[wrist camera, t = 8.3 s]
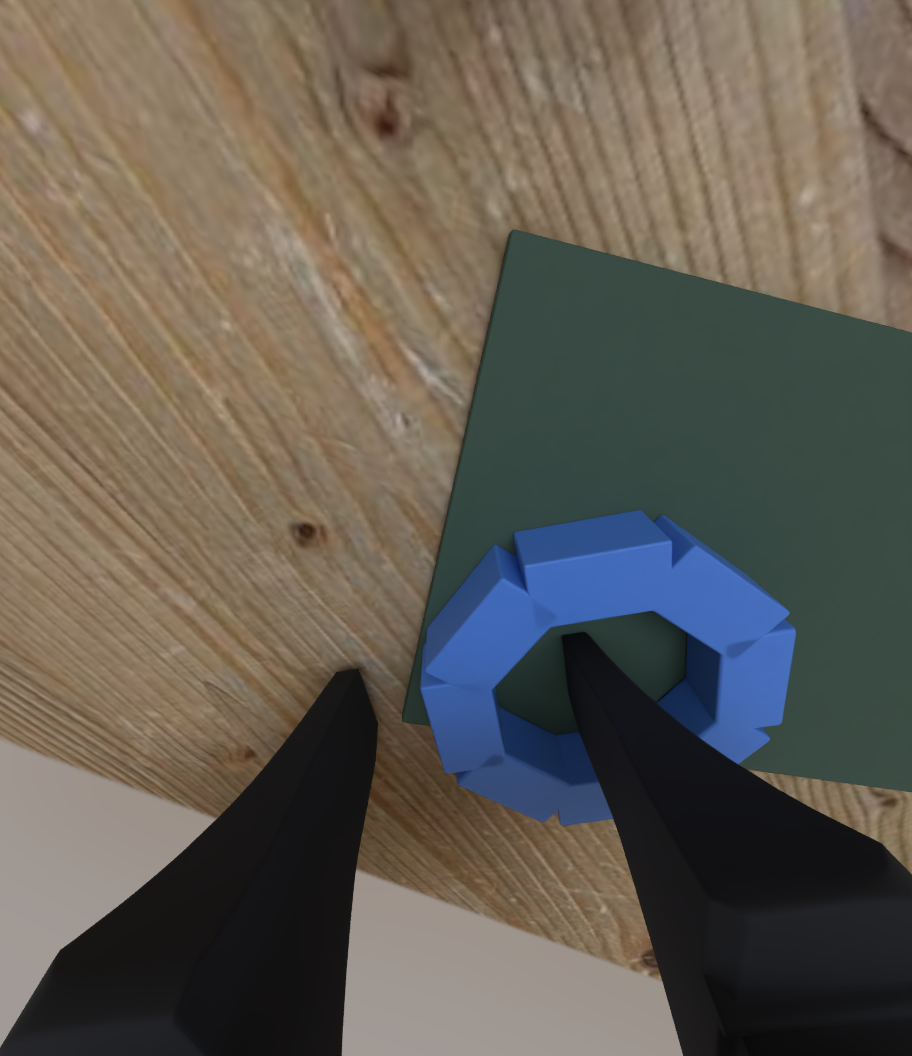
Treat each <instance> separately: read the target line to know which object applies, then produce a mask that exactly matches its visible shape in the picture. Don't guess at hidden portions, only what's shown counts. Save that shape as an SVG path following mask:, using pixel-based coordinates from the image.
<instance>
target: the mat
mask: <svg viewBox="0 0 912 1056" xmlns="http://www.w3.org/2000/svg"><path fill="white" fill-rule="evenodd" d="M637 510H641V511H642V512H643V513H644V514H645V515H646V516H647V517H648V518H649V519H650V520H651V521H652V522H653V523H654V522H655V521H656V520H657V519H658V517H659V516H661V515H665V516H666V517H668V518H669V519H670V520H672V521H673V522H675V523H676V524H677V525H679V526H680V527H682V528H683V529H684V530H686V531H687V532H688V533H690V534H691V535H693V536H694V537H695V538H697V539H698V540H700V541H701V542H702V543H704V544H705V545H706V546H708V547H709V548H711V549H712V550H713V551H715V552H716V553H718V554H719V555H720V556H722V557H723V558H724V559H726V560H727V561H729V562H730V563H731V564H733V565H734V566H736V567H737V568H738V569H740V570H741V571H742V572H744V573H745V574H747V575H748V576H749V577H750V578H751V579H752V580H754V581H755V582H756V583H757V584H758V585H759V586H761V587H762V588H763V589H764V590H765V591H766V592H768V593H769V594H770V595H771V596H772V597H773V598H775V599H776V600H777V601H778V602H779V603H780V604H782V605H783V606H784V607H785V608H786V609H787V610H788V611H789V613H790V614H789V615H788V616H787V617H786V618H785V620H786V621H787V622H788V623H790V624H791V625H792V626H793V627H794V628H795V630H796V637H795V643H794V649H793V656H792V662H791V668H790V674H789V681H788V687H787V693H786V699H785V706H784V712H783V718H782V723H781V724H779V725H774V726H767V727H762V728H763V729H764V730H765V731H766V733H767V734H768V735H769V738H770V740H769V741H768V742H767V743H766V744H764V745H763V746H762V747H760V748H759V749H758V750H756V751H755V752H754V753H752V754H751V755H750V756H748V757H747V758H746V759H744V760H743V761H742V762H740V763H739V764H738V765H740V766H742V767H743V768H745V769H747V770H755V771H762V772H769V773H776V774H784V775H791V776H798V777H805V778H813V779H820V780H827V781H834V782H842V783H849V784H856V785H863V786H871V787H878V788H885V789H892V790H900V791H907V792H912V333H911V332H907V331H903V330H900V329H896V328H892V327H888V326H884V325H880V324H876V323H873V322H869V321H865V320H861V319H857V318H853V317H849V316H846V315H842V314H838V313H834V312H830V311H826V310H823V309H819V308H815V307H811V306H807V305H803V304H799V303H796V302H792V301H788V300H784V299H780V298H776V297H772V296H769V295H765V294H761V293H757V292H753V291H749V290H745V289H742V288H738V287H734V286H730V285H726V284H722V283H719V282H715V281H711V280H707V279H703V278H699V277H695V276H692V275H688V274H684V273H680V272H676V271H672V270H668V269H665V268H661V267H657V266H653V265H649V264H645V263H641V262H638V261H634V260H630V259H626V258H622V257H618V256H615V255H611V254H607V253H603V252H599V251H595V250H591V249H588V248H584V247H580V246H576V245H572V244H568V243H564V242H561V241H557V240H553V239H549V238H545V237H541V236H537V235H534V234H530V233H526V232H522V231H518V230H512V231H511V232H510V234H509V236H508V241H507V245H506V250H505V254H504V259H503V263H502V268H501V272H500V277H499V281H498V286H497V290H496V295H495V299H494V304H493V308H492V313H491V317H490V322H489V326H488V331H487V335H486V340H485V344H484V349H483V353H482V358H481V362H480V367H479V371H478V376H477V380H476V385H475V389H474V394H473V398H472V403H471V407H470V412H469V416H468V421H467V425H466V430H465V434H464V439H463V443H462V448H461V452H460V457H459V461H458V466H457V470H456V475H455V479H454V484H453V488H452V493H451V497H450V502H449V506H448V511H447V515H446V520H445V524H444V529H443V533H442V538H441V542H440V547H439V551H438V556H437V560H436V564H435V569H434V573H433V578H432V582H431V587H430V591H429V596H428V600H427V605H426V609H425V614H424V618H423V623H422V627H421V632H420V636H419V641H418V645H417V650H416V654H415V659H414V663H413V668H412V672H411V677H410V681H409V686H408V690H407V695H406V699H405V704H404V708H403V714H402V722H406V723H413V724H421V725H428V726H431V724H430V721H429V718H428V714H427V711H426V707H425V704H424V701H423V697H422V694H421V690H420V685H421V671H422V656H423V645H424V644H426V642H427V628H428V626H429V625H430V624H431V623H432V621H433V620H434V619H435V618H436V616H437V615H438V614H439V613H440V611H441V610H442V609H443V608H444V606H445V605H446V604H447V603H448V601H449V600H450V599H451V598H452V596H453V595H454V594H455V593H456V591H457V590H458V589H459V588H460V586H461V585H462V584H463V583H464V581H465V580H466V579H467V578H468V576H469V575H470V574H471V573H472V571H473V570H474V569H475V568H476V566H477V565H478V564H479V563H480V561H481V560H482V559H483V558H484V556H485V555H486V554H487V553H488V551H489V550H490V549H491V548H492V546H493V545H498V546H500V547H501V548H503V549H505V550H506V551H508V552H509V553H511V554H513V555H514V556H516V549H515V542H514V536H513V535H514V532H518V531H524V530H529V529H535V528H541V527H546V526H552V525H558V524H563V523H569V522H575V521H580V520H586V519H592V518H597V517H603V516H609V515H614V514H620V513H626V512H631V511H637ZM516 557H517V556H516ZM581 632H586V633H588V634H589V635H590V636H591V637H592V638H593V640H594V641H595V642H596V643H597V644H598V645H599V647H600V648H601V649H602V650H603V651H604V652H605V653H606V654H607V655H608V657H609V658H610V659H611V660H612V661H613V662H614V663H615V664H616V665H617V666H618V667H619V668H620V669H621V670H622V671H623V672H624V673H625V674H626V675H627V676H628V677H629V678H630V679H631V680H632V681H633V682H634V683H635V684H636V685H637V686H638V687H640V688H641V689H642V690H643V691H644V692H645V693H646V694H647V695H648V696H649V697H650V698H652V699H653V700H654V701H655V702H656V703H657V702H658V701H659V700H660V699H661V698H662V697H664V696H665V695H666V694H667V693H668V692H669V691H670V690H672V689H673V688H674V687H675V686H676V685H677V684H678V683H680V682H681V681H682V680H683V679H684V678H685V677H686V660H687V632H685V631H683V630H682V629H680V628H679V627H677V626H676V625H674V624H673V623H671V622H669V621H668V620H666V619H665V618H663V617H662V616H660V615H659V614H657V613H655V612H654V611H647V612H641V613H635V614H629V615H623V616H617V617H611V618H604V619H598V620H592V621H586V622H580V623H574V624H568V625H562V626H555V627H550V628H549V630H548V631H547V632H546V633H545V634H544V635H543V636H542V637H541V638H540V639H539V640H538V641H537V642H536V643H535V645H534V646H533V647H532V648H531V649H530V650H529V651H528V652H527V653H526V654H525V655H524V656H523V657H522V658H521V660H520V661H519V662H518V663H517V664H516V665H515V666H514V667H513V668H512V669H511V670H510V671H509V672H508V673H507V675H506V676H505V677H504V678H503V679H502V680H501V681H500V682H499V683H498V684H497V685H496V686H495V689H496V694H497V699H498V704H499V707H501V708H503V709H505V710H507V711H509V712H511V713H513V714H515V715H517V716H519V717H521V718H523V719H525V720H527V721H529V722H531V723H533V724H535V725H537V726H539V727H541V728H543V729H544V730H546V731H548V732H550V733H552V734H554V735H561V734H568V733H575V732H579V730H578V727H577V723H576V720H575V716H574V713H573V709H572V706H571V702H570V698H569V695H568V687H567V678H566V669H565V660H564V651H563V642H562V635H569V634H575V633H581Z"/></svg>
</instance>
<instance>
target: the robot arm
mask: <svg viewBox="0 0 912 1056" xmlns="http://www.w3.org/2000/svg"><path fill="white" fill-rule="evenodd" d="M562 642H563V651H564V660H565V669H566V678H567V687H568V695H569V698H570V702H571V706H572V709H573V713H574V716H575V720H576V723H577V727H578V730H579V733H580V736H581V738H582V741H583V744H584V746H585V749H586V751H587V754H588V756H589V759H590V761H591V764H592V766H593V769H594V771H595V774H596V776H597V779H598V781H599V784H600V786H601V789H602V791H603V794H604V796H605V799H606V801H607V804H608V807H609V809H610V812H611V814H612V817H613V819H614V822H615V825H616V828H617V831H618V833H619V836H620V839H621V842H622V846H623V849H624V852H625V856H626V859H627V862H628V865H629V869H630V872H631V875H632V879H633V882H634V885H635V889H636V892H637V895H638V899H639V902H640V906H641V909H642V912H643V916H644V919H645V922H646V926H647V929H648V933H649V936H650V940H651V943H652V946H653V950H654V953H655V957H656V960H657V964H658V967H659V971H660V974H661V978H662V981H663V985H664V988H665V992H666V995H667V999H668V1002H669V1006H670V1010H671V1013H672V1017H673V1020H674V1024H675V1028H676V1031H677V1035H678V1038H679V1042H680V1046H681V1049H682V1053H683V1056H912V874H911V873H910V872H909V871H908V870H907V869H906V868H905V867H904V866H903V865H902V864H901V863H900V862H899V861H898V860H897V859H896V858H895V857H894V856H893V855H892V854H891V853H890V852H889V851H888V850H887V849H886V848H885V846H884V845H883V844H881V843H879V842H878V841H876V840H874V839H872V838H870V837H868V836H866V835H864V834H862V833H860V832H858V831H856V830H854V829H852V828H850V827H848V826H846V825H844V824H842V823H840V822H838V821H836V820H834V819H832V818H830V817H828V816H826V815H824V814H822V813H820V812H818V811H816V810H814V809H812V808H810V807H809V806H807V805H805V804H803V803H801V802H800V801H798V800H796V799H794V798H793V797H791V796H789V795H787V794H786V793H784V792H782V791H780V790H778V789H777V788H775V787H773V786H772V785H770V784H769V783H767V782H766V781H764V780H762V779H761V778H759V777H758V776H756V775H754V774H753V773H751V772H750V771H748V770H746V769H745V768H743V767H742V766H740V765H738V764H737V763H735V762H734V761H732V760H731V759H729V758H728V757H726V756H725V755H723V754H722V753H721V752H719V751H718V750H716V749H715V748H713V747H712V746H711V745H709V744H708V743H706V742H705V741H704V740H702V739H701V738H700V737H698V736H697V735H696V734H694V733H693V732H692V731H690V730H689V729H688V728H686V727H685V726H684V725H682V724H681V723H680V722H679V721H677V720H676V719H675V718H674V717H673V716H671V715H670V714H669V713H668V712H667V711H665V710H664V709H663V708H662V707H661V706H660V705H658V704H657V703H656V702H655V701H654V700H653V699H652V698H650V697H649V696H648V695H647V694H646V693H645V692H644V691H643V690H642V689H641V688H640V687H638V686H637V685H636V684H635V683H634V682H633V681H632V680H631V679H630V678H629V677H628V676H627V675H626V674H625V673H624V672H623V671H622V670H621V669H620V668H619V667H618V666H617V665H616V664H615V663H614V662H613V661H612V660H611V659H610V658H609V657H608V655H607V654H606V653H605V652H604V651H603V650H602V649H601V648H600V647H599V645H598V644H597V643H596V642H595V641H594V640H593V638H592V637H591V636H590V635H589V634H588V633H586V632H581V633H575V634H569V635H562ZM377 731H378V722H377V719H376V716H375V714H374V711H373V708H372V705H371V703H370V700H369V697H368V694H367V692H366V689H365V686H364V683H363V680H362V678H361V675H360V672H359V669H353V670H347V671H341V672H336V673H335V675H334V676H333V678H332V679H331V680H330V682H329V683H328V684H327V686H326V687H325V688H324V690H323V691H322V693H321V694H320V695H319V697H318V698H317V700H316V701H315V702H314V704H313V705H312V707H311V708H310V709H309V711H308V712H307V713H306V715H305V716H304V718H303V719H302V720H301V722H300V723H299V724H298V726H297V727H296V728H295V730H294V731H293V732H292V734H291V735H290V736H289V738H288V739H287V740H286V742H285V743H284V744H283V745H282V746H281V748H280V749H279V750H278V751H277V753H276V754H275V755H274V756H273V758H272V759H271V760H270V761H269V762H268V764H267V765H266V766H265V767H264V769H263V770H262V771H261V772H260V773H259V775H258V776H257V777H256V778H255V779H254V780H253V781H252V783H251V784H250V785H249V786H248V787H247V788H246V789H245V790H244V791H243V792H242V793H241V795H240V796H239V797H238V798H237V799H236V800H235V801H234V802H233V803H232V804H231V805H230V806H229V807H228V808H227V809H226V810H225V811H224V812H223V813H222V814H221V815H220V816H219V817H218V818H217V819H216V820H215V821H214V822H213V823H212V824H211V825H210V826H209V827H208V828H207V829H206V830H205V831H204V832H203V833H202V834H201V835H200V836H199V837H197V838H196V839H195V840H194V841H193V842H192V843H191V844H190V845H189V846H188V847H187V848H186V849H185V850H184V851H183V852H182V853H181V854H179V855H178V856H177V857H176V858H175V859H174V860H173V861H172V862H170V863H169V864H168V865H167V866H166V867H165V868H164V869H162V870H161V871H160V872H159V873H158V874H157V875H155V876H154V877H153V878H152V879H151V880H150V881H148V882H147V883H146V884H145V885H144V886H142V887H141V888H140V889H139V890H138V891H136V892H135V893H134V894H133V895H131V896H130V897H129V898H128V899H127V900H125V901H124V902H123V903H122V904H120V905H119V906H118V907H117V908H115V909H114V910H113V911H111V912H110V913H109V914H107V915H106V916H105V917H103V918H102V919H101V920H100V921H98V922H97V923H96V924H94V925H93V926H92V927H90V928H89V929H88V930H86V931H85V932H84V933H83V934H81V935H80V936H79V937H77V938H76V939H75V940H73V941H72V942H71V943H69V944H68V945H67V946H65V947H64V948H62V949H61V950H60V951H59V953H58V954H57V956H56V957H55V959H54V960H53V962H52V964H51V965H50V967H49V969H48V970H47V972H46V974H45V975H44V977H43V978H42V980H41V982H40V983H39V985H38V987H37V988H36V990H35V991H34V993H33V995H32V996H31V998H30V1000H29V1002H28V1003H27V1004H26V1006H25V1008H24V1009H23V1011H22V1013H21V1014H20V1016H19V1018H18V1019H17V1021H16V1023H15V1024H14V1026H13V1027H12V1029H11V1031H10V1032H9V1034H8V1036H7V1037H6V1039H5V1041H4V1042H3V1044H2V1045H1V1047H0V1056H342V1033H343V1016H344V1001H345V986H346V970H347V958H348V946H349V933H350V921H351V911H352V901H353V890H354V881H355V872H356V865H357V859H358V852H359V847H360V842H361V836H362V831H363V826H364V821H365V815H366V810H367V805H368V800H369V794H370V789H371V784H372V778H373V773H374V767H375V761H376V748H377Z"/></svg>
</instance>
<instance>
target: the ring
mask: <svg viewBox="0 0 912 1056" xmlns="http://www.w3.org/2000/svg"><path fill="white" fill-rule="evenodd" d="M513 536H514V542H515V549H516V556H517V557H516V556H514V555H513V554H511V553H509V552H508V551H506V550H505V549H503V548H501V547H500V546H498V545H493V546H492V548H491V549H490V550H489V551H488V553H487V554H486V555H485V556H484V558H483V559H482V560H481V561H480V563H479V564H478V565H477V566H476V568H475V569H474V570H473V571H472V573H471V574H470V575H469V576H468V578H467V579H466V580H465V581H464V583H463V584H462V585H461V586H460V588H459V589H458V590H457V591H456V593H455V594H454V595H453V596H452V598H451V599H450V600H449V601H448V603H447V604H446V605H445V606H444V608H443V609H442V610H441V611H440V613H439V614H438V615H437V616H436V618H435V619H434V620H433V621H432V623H431V624H430V625H429V626H428V628H427V642H426V644H424V645H423V656H422V671H421V685H420V690H421V694H422V697H423V701H424V704H425V707H426V711H427V714H428V718H429V721H430V724H431V728H432V731H433V735H434V738H435V742H436V745H437V748H438V752H439V755H440V759H441V762H442V766H443V769H444V772H445V773H446V774H448V773H455V772H456V775H457V784H458V785H459V786H461V787H463V788H465V789H468V790H470V791H472V792H474V793H477V794H479V795H481V796H483V797H486V798H488V799H490V800H493V801H495V802H497V803H499V804H502V805H504V806H506V807H508V808H511V809H513V810H515V811H518V812H520V813H522V814H524V815H527V816H529V817H531V818H533V819H536V820H538V821H540V822H545V821H546V820H547V819H549V818H550V817H551V816H552V815H553V814H555V813H556V812H557V811H558V816H559V820H560V824H561V825H562V826H564V825H571V824H578V823H586V822H593V821H600V820H608V819H613V817H612V814H611V812H610V809H609V807H608V804H607V801H606V799H605V796H604V794H603V791H602V789H601V786H600V784H599V781H598V779H597V776H596V774H595V771H594V769H593V766H592V764H591V761H590V759H589V756H588V754H587V751H586V749H585V746H584V744H583V741H582V738H581V736H580V733H579V732H575V733H568V734H561V735H554V734H552V733H550V732H548V731H546V730H544V729H543V728H541V727H539V726H537V725H535V724H533V723H531V722H529V721H527V720H525V719H523V718H521V717H519V716H517V715H515V714H513V713H511V712H509V711H507V710H505V709H503V708H501V707H499V704H498V699H497V694H496V689H495V686H496V685H497V684H498V683H499V682H500V681H501V680H502V679H503V678H504V677H505V676H506V675H507V673H508V672H509V671H510V670H511V669H512V668H513V667H514V666H515V665H516V664H517V663H518V662H519V661H520V660H521V658H522V657H523V656H524V655H525V654H526V653H527V652H528V651H529V650H530V649H531V648H532V647H533V646H534V645H535V643H536V642H537V641H538V640H539V639H540V638H541V637H542V636H543V635H544V634H545V633H546V632H547V631H548V630H549V628H550V627H555V626H562V625H568V624H574V623H580V622H586V621H592V620H598V619H604V618H611V617H617V616H623V615H629V614H635V613H641V612H647V611H654V612H655V613H657V614H659V615H660V616H662V617H663V618H665V619H666V620H668V621H669V622H671V623H673V624H674V625H676V626H677V627H679V628H680V629H682V630H683V631H685V632H687V660H686V677H685V678H684V679H683V680H682V681H681V682H680V683H678V684H677V685H676V686H675V687H674V688H673V689H672V690H670V691H669V692H668V693H667V694H666V695H665V696H664V697H662V698H661V699H660V700H659V701H658V702H657V704H658V705H660V706H661V707H662V708H663V709H664V710H665V711H667V712H668V713H669V714H670V715H671V716H673V717H674V718H675V719H676V720H677V721H679V722H680V723H681V724H682V725H684V726H685V727H686V728H688V729H689V730H690V731H692V732H693V733H694V734H696V735H697V736H698V737H700V738H701V739H702V740H704V741H705V742H706V743H708V744H709V745H711V746H712V747H713V748H715V749H716V750H718V751H719V752H721V753H722V754H723V755H725V756H726V757H728V758H729V759H731V760H732V761H734V762H735V763H737V764H739V763H740V762H742V761H743V760H744V759H746V758H747V757H748V756H750V755H751V754H752V753H754V752H755V751H756V750H758V749H759V748H760V747H762V746H763V745H764V744H766V743H767V742H768V741H769V740H770V738H769V735H768V734H767V733H766V731H765V730H764V729H763V728H762V727H767V726H774V725H779V724H781V723H782V718H783V712H784V706H785V699H786V693H787V687H788V681H789V674H790V668H791V662H792V656H793V649H794V643H795V637H796V630H795V628H794V627H793V626H792V625H791V624H790V623H788V622H787V621H786V620H785V618H786V617H787V616H788V615H789V614H790V613H789V611H788V610H787V609H786V608H785V607H784V606H783V605H782V604H780V603H779V602H778V601H777V600H776V599H775V598H773V597H772V596H771V595H770V594H769V593H768V592H766V591H765V590H764V589H763V588H762V587H761V586H759V585H758V584H757V583H756V582H755V581H754V580H752V579H751V578H750V577H749V576H748V575H747V574H745V573H744V572H742V571H741V570H740V569H738V568H737V567H736V566H734V565H733V564H731V563H730V562H729V561H727V560H726V559H724V558H723V557H722V556H720V555H719V554H718V553H716V552H715V551H713V550H712V549H711V548H709V547H708V546H706V545H705V544H704V543H702V542H701V541H700V540H698V539H697V538H695V537H694V536H693V535H691V534H690V533H688V532H687V531H686V530H684V529H683V528H682V527H680V526H679V525H677V524H676V523H675V522H673V521H672V520H670V519H669V518H668V517H666V516H665V515H661V516H659V517H658V519H657V520H656V521H655V522H654V523H653V522H652V521H651V520H650V519H649V518H648V517H647V516H646V515H645V514H644V513H643V512H642V511H641V510H637V511H631V512H626V513H620V514H614V515H609V516H603V517H597V518H592V519H586V520H580V521H575V522H569V523H563V524H558V525H552V526H546V527H541V528H535V529H529V530H524V531H518V532H514V535H513Z"/></svg>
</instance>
